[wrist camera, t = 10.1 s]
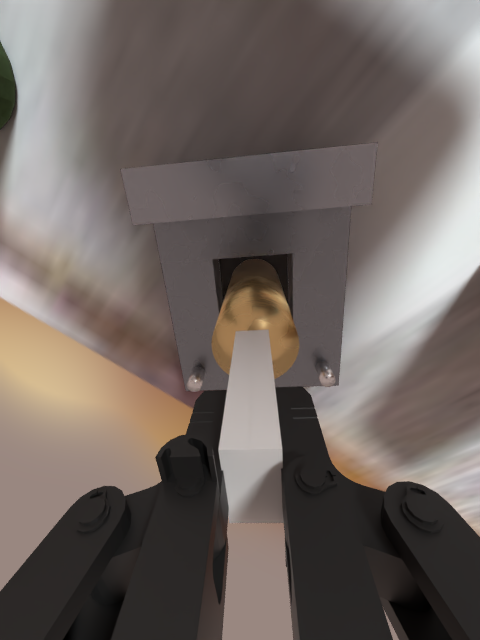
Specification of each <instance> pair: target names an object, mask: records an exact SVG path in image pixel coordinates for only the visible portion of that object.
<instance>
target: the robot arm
mask: <svg viewBox="0 0 480 640" xmlns="http://www.w3.org/2000/svg"><path fill="white" fill-rule="evenodd" d="M156 461H157V465H158V468H159V472H160V476H161V479H162V481H161V482H160V483H158V484H157V485H155V486H153V487H150V488H148V489H145V490H142V491H139V492H136V493H133V494H130V495H127V496H124V494H123V492H122V490H120V489H118V488H117V487H115V486H103V487H100V488H97V489H94V490H92V491H90V492H88V493H87V494H85V495H83V496H82V497H80V499H78V500H77V501H76V502H75V503H74V504H73V505H72V506H71V507H70V508H69V510H68V511H67V512H66V513H65V515H63V517H62V518H61V519H60V520H59V522H58V523H57V524H56V525H55V526H54V528H53V529H52V530H51V531H50V532H49V534H48V535H47V536H46V537H45V538H44V540H43V541H42V542H41V543H40V544H39V546H38V547H37V548H36V549H35V550H34V552H33V553H32V554H31V555H30V556H29V558H28V559H27V560H26V561H25V563H24V564H23V565H22V566H21V567H20V569H19V570H18V571H17V572H16V573H15V574H14V576H13V577H12V578H11V579H10V580H9V582H8V583H7V584H6V585H5V586H4V588H3V589H2V590H1V591H0V640H222V630H223V617H224V616H223V615H224V603H225V589H226V575H227V562H228V539H227V523H228V516H229V523H284V530H285V547H286V548H285V549H286V551H285V552H286V566H287V572H288V584H289V595H290V606H291V618H292V629H293V640H393V639H392V635H391V632H390V629H389V626H388V623H387V620H386V616H385V613H384V610H385V612H386V614H387V616H388V618H389V620H390V622H391V624H392V626H393V628H394V630H395V632H396V634H397V636H398V638H399V640H480V537H479V536H478V535H477V534H476V532H475V531H474V530H473V529H472V528H471V527H470V526H469V525H468V524H467V523H466V521H465V520H464V519H463V518H462V517H461V516H460V515H459V514H458V513H457V511H456V510H455V509H454V508H453V507H452V506H451V505H450V504H449V503H448V502H447V501H446V500H445V499H443V498H442V497H441V496H440V495H439V494H438V493H436V492H434V491H433V490H431V489H429V488H427V487H425V486H423V485H420V484H417V483H413V482H409V481H408V482H396V483H394V484H393V485H391V486H389V487H388V488H387V490H386V492H384V491H380V490H377V489H374V488H370V487H367V486H363V485H360V484H358V483H355V482H353V481H351V480H349V479H348V478H346V477H345V476H343V475H342V474H341V473H340V472H339V471H338V470H337V469H336V468H335V466H334V465H333V464H332V462H331V460H330V457H329V454H328V451H327V448H326V444H325V441H324V438H323V434H322V431H321V428H320V424H319V421H318V419H317V414H316V411H315V409H314V404H313V401H312V397H311V395H310V394H309V393H308V392H307V391H306V390H305V389H304V388H303V387H302V386H295V387H275V382H274V373H273V364H272V355H271V347H270V338H269V329H268V330H250V331H236V333H235V340H234V347H233V354H232V360H231V367H230V374H229V381H228V388H227V390H214V391H204V392H203V393H202V394H201V395H200V397H199V398H198V399H197V400H196V402H195V406H194V409H193V414H192V416H191V419H190V423H189V426H188V429H187V433H186V435H181V436H178V437H176V438H174V439H172V440H170V441H169V442H167V443H166V444H165V445H164V446H163V447H162V448H161V449H160V451H159V452H158V454H157V456H156ZM382 606H383V607H382ZM383 608H384V610H383Z"/></svg>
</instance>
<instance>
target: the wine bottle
mask: <svg viewBox="0 0 480 640" xmlns="http://www.w3.org/2000/svg"><path fill="white" fill-rule="evenodd" d="M14 105H15V80H14V76H13V72H12V67H11V63H10V61H9V59H8V56H7V54H6V52H5V50H4V48H3V46H2V44H1V42H0V130H1V128H2V127H3V126H4V125H5V124H6V123H7V121H8V120H9V119H10V117H11V114H12V111H13V108H14Z"/></svg>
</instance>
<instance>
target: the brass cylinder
mask: <svg viewBox="0 0 480 640" xmlns="http://www.w3.org/2000/svg"><path fill="white" fill-rule="evenodd" d="M268 329H269V338H270V347H271V355H272V364H273V373H274V379H276V378H278V377H280V376H281V375H283V374H284V373H285V372H287V371H288V370H289V369H290V367H291V366H292V365H293V363H294V362H295V360H296V358H297V355H298V351H299V337H298V333H297V330H296V327H295V324H294V321H293V318H292V315H291V312H290V309H289V306H288V303H287V300H286V297H285V294H284V291H283V288H282V285H281V282H280V279H279V276H278V274H277V272H276V270H275V268H274V267H273V266H272V265H271V264H270V263H268V262H266V261H264V260H261V259H249V260H246V261H244V262H242V263H240V264H239V265H238V266H237V267H236V268H235V270H234V271H233V274H232V276H231V279H230V282H229V285H228V289H227V292H226V295H225V298H224V301H223V304H222V307H221V310H220V313H219V316H218V320H217V323H216V326H215V329H214V332H213V336H212V342H211V345H212V352H213V356H214V358H215V360H216V362H217V364H218V365H219V366H220V368H221V369H222V370H223V371H224V372H226V373H227V374H228V375H229V374H230V367H231V360H232V354H233V347H234V340H235V333H236V331H250V330H268Z"/></svg>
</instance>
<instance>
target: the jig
mask: <svg viewBox="0 0 480 640" xmlns="http://www.w3.org/2000/svg"><path fill="white" fill-rule="evenodd" d="M377 144H378V142H375V143H365V144H356V145H346V146H336V147H327V148H317V149H308V150H298V151H288V152H279V153H269V154H259V155H250V156H240V157H231V158H221V159H211V160H202V161H192V162H182V163H173V164H163V165H153V166H144V167H134V168H125V169H120V170H121V174H122V179H123V183H124V188H125V192H126V197H127V201H128V206H129V210H130V215H131V219H132V224H133V225H140V224H151V223H153V226H154V231H155V236H156V241H157V246H158V251H159V256H160V261H161V267H162V272H163V277H164V282H165V287H166V292H167V297H168V302H169V308H170V313H171V318H172V323H173V328H174V333H175V338H176V343H177V348H178V354H179V359H180V364H181V369H182V374H183V379H184V384H185V389H186V391H192V392H197V391H201V390H227V388H228V381H229V375H228V374H227V373H226V372H224V371H223V370H222V369H221V368H220V366H219V365H218V364H217V362H216V360H215V358H214V356H213V352H212V345H211V342H212V336H213V332H214V329H215V326H216V323H217V320H218V316H219V313H220V310H221V307H222V304H223V292H222V283H221V274H220V265H219V259H224V258H237V257H250V256H264V255H277V254H287V261H288V306H289V309H290V312H291V315H292V318H293V321H294V324H295V327H296V330H297V333H298V337H299V351H298V355H297V358H296V360H295V362H294V363H293V365H292V366H291V367H290V369H289V370H288V371H287V372H285V373H284V374H283V375H281V376H280V377H278V378H276V379H274V382H275V387H295V386H302V387H309V386H325V387H330V386H336V385H339V372H340V358H341V343H342V329H343V315H344V301H345V287H346V272H347V258H348V244H349V230H350V216H351V206H359V205H370V204H372V195H373V185H374V174H375V164H376V154H377Z"/></svg>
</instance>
